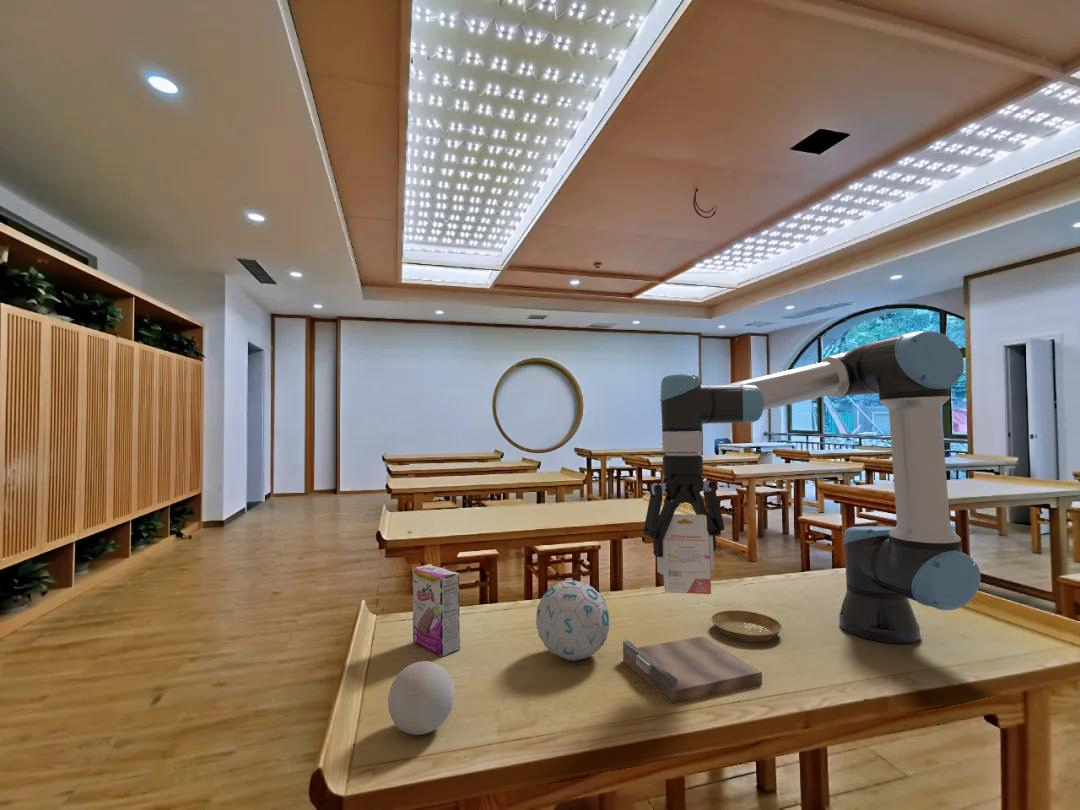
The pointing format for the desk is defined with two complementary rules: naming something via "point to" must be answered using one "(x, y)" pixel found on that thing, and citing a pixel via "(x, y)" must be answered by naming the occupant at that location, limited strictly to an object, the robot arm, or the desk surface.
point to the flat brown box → (690, 668)
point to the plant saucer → (734, 619)
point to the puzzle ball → (572, 620)
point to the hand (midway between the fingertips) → (685, 570)
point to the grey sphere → (421, 698)
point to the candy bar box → (436, 609)
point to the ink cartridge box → (688, 556)
